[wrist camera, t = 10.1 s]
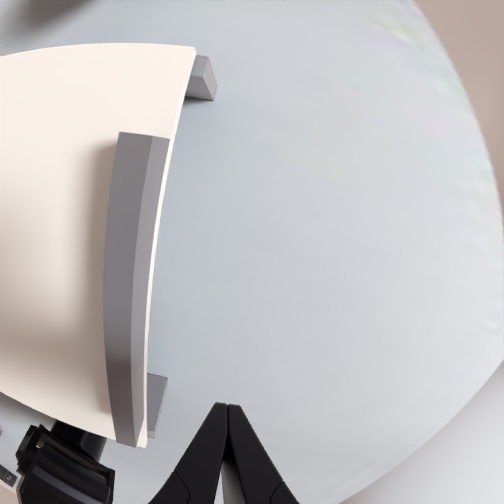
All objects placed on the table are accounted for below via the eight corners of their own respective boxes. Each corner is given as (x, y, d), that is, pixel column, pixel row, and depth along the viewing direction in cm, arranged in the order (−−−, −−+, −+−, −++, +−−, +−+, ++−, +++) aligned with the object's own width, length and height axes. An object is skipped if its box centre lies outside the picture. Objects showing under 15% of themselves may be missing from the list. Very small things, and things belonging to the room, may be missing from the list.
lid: (147, 440, 18) (139, 474, 15) (-4, 381, 16) (-21, 404, 13) (196, 53, 10) (183, 23, 7) (-21, 65, 9) (-55, 60, 6)
